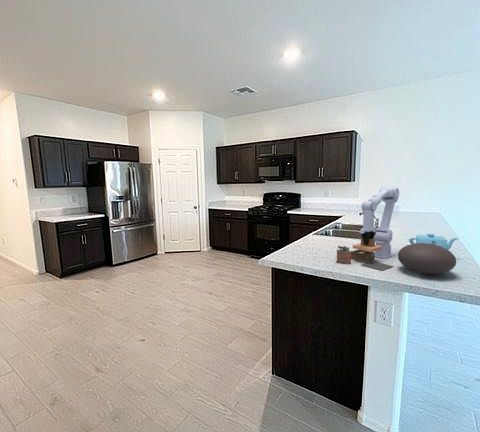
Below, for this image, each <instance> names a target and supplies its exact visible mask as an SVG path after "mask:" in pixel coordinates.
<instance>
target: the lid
mask: <svg viewBox="0 0 480 432" xmlns="http://www.w3.org/2000/svg"><path fill="white" fill-rule="evenodd" d="M352 249H355V250H358V249H359V250H364V251H368V252H375V251H378V250H381V249H383V246H379V245H376V242H375V240H374V239H369V243H368V245H364V242H363V238H362V237H361V238H360V242H359V243H357V244H353V245H352Z"/></svg>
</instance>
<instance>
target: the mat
mask: <svg viewBox="0 0 480 432" xmlns="http://www.w3.org/2000/svg"><path fill="white" fill-rule="evenodd" d="M360 266H361V267H363V268H364V267H365V268H369V269H373V270H377V271H380V272H383V271H386V270H388V269H391V268H394V265H390V264H385V263H382V262H378V261H374V260H371V261H368V262H365V263H362V264H361V265H360Z"/></svg>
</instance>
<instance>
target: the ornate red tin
mask: <svg viewBox="0 0 480 432" xmlns="http://www.w3.org/2000/svg"><path fill="white" fill-rule="evenodd" d="M335 263H337V264H340V265H341V264H342V265H352V259H351V250H350V247H349V246H345V245H343V246H341V245H338V246H337V249H336V262H335Z"/></svg>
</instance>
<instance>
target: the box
mask: <svg viewBox="0 0 480 432" xmlns="http://www.w3.org/2000/svg"><path fill="white" fill-rule="evenodd" d="M350 251H351V250H350ZM375 259H376V257H375V251H374V252H368V251H364V250H359V249H355V250H352V251H351V260H354V261H358V262H362V263H369V262H372V261H375Z"/></svg>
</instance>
